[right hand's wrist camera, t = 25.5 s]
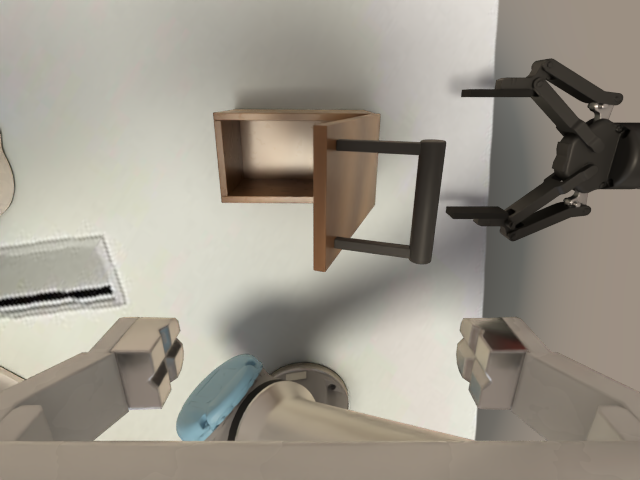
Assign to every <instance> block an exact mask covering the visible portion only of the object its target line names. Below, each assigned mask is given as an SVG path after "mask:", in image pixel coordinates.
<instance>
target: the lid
mask: <svg viewBox="0 0 640 480" xmlns="http://www.w3.org/2000/svg"><path fill="white" fill-rule="evenodd" d="M379 131H380V114H368V115H363V116H358V117H353V118H348V119H343V120H338V121H333V122H327V123H322V124H317V125H314V126H313V213H314V270H315V271H322V272H326V270H327V269H328V268H329V266H330V265H331V264H332V262H333V261H334V259H335V258H336V257H337V255H338V254H339V253H340V251H341V250H342V249H343V250H351V251H358V252H366V253H373V254H380V255H388V256H395V257H403V258H409V260H410V261H411V262H413V263H416V264H428V263H430V262H431V258H432V250H433V242H434V234H435V226H436V218H437V211H438V203H439V195H440V187H441V179H442V172H443V164H444V156H445V148H446V141H443V140H421V142H402V141H379ZM378 153H388V154H408V155H419V160H418V169H417V179H416V189H415V199H414V208H413V218H412V228H411V238H410V246H409V245H401V244H393V243H385V242H377V241H369V240H361V239H353V238H351V236H352V235H353V234H354V232H355V231H356V230H357V228H358V227H359V226H360V224H361V223H362V222H363V220H364V219H365V217H366V216H367V215H368V213H369V212H370V211H371V209H372V208H373V207H374V205H375V195H376V179H377V163H378Z"/></svg>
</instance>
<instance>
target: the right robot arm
mask: <svg viewBox="0 0 640 480" xmlns="http://www.w3.org/2000/svg"><path fill="white" fill-rule="evenodd" d="M13 194H14V180H13V175H12V171H11V168H10V166H9V163H8V161H7V159H6V157H5V155H4V153H3V150H2V147H1V136H0V215H1V214H3V213H4V212H5V211H6V209H7V208H8V207H9V205H10V203H11V201H12V198H13ZM179 332H180V327H179V322H178V320H177V319H176V318H158V317H141V318H140V317H123V318H119V319H118V320H117V322H116V323H115V324H114V325H113V326H112V327H111V328H110V329H109V330H108V331H107V332H106V333H105V335H104V336H103V337H102V338H101V339H100V340H99V341H98V342H97V343H96V344H95V345H94V347H93V348H92V349H91V350H90V351H89V352H84V353H80V354H78V355H76V356H74V357H72V358H70V359H68V360H66V361H64V362H61V363H59V364H57V365H55V366H53V367H51V368H49V369H47V370H45V371H43V372H41V373H39V374H37V375H35V376H32V377H30V378H28V379H26V380H24V381H22V382H20V383H18V384H16V385H14V386H12V387H10V388H8V389H5V390H3V391H1V392H0V480H640V392H638V391H636V390H634V389H632V388H630V387H628V386H626V385H624V384H622V383H620V382H618V381H616V380H614V379H612V378H609V377H607V376H605V375H603V374H601V373H599V372H597V371H595V370H593V369H591V368H589V367H587V366H585V365H582V364H581V363H578V362H576V361H574V360H572V359H570V358H568V357H566V356H564V355H562V354H560V353H557V352H554V353H553V352H551V351H550V350H549V349H548V348H547V347H546V345H545V344H544V343H543V342H542V341H541V340H540V339H539V338H538V337H537V336H536V335H535V334H534V332H533V331H532V330H531V329H530V328H529V327H528V326H527V325H526V324H525V323H524V321H523V320H522V319H520V318H518V317H499V318H463V320H462V322H461V326H460V332H461V334H462V336H463V337H464V338H463V339H462V340H461V341H460V342H459V343H458V344H457V351H456V357H457V365H458V369H459V372H460V374H461V376H462V378H464V379H465V380H467V381H468V382H470V384H469V391H470V393H471V395H472V397H473V399H474V401H475V403H476V405H477V407H478V409H503V410H511V411H512V412H513V413H514V414H515V415H516V416H517V417H519V418H520V419H521V420H522V421H524V422H525V423H526V424H527V425H529V426H530V427H531V428H532V429H533V430H534V431H536V432H537V433H538V434H539V435H541V436H542V437H543V438H544V439H545V440H547V441H93V440H95V439H96V438H97V437H98V436H100V435H101V434H102V433H103V432H104V431H106V430H107V429H108V428H109V427H111V426H112V425H113V424H114V423H115V422H117V421H118V420H119V419H120V418H121V417H123V416H124V415H125V414H126V413H128V412H129V410H137V409H162V407H163V405H164V403H165V401H166V399H167V397H168V395H169V393H170V391H171V384H170V382H172V381H173V380H175V379H176V378H178V376H179V374H180V371H181V369H182V364H183V360H184V350H183V344H182V343H181V342H180V341H179V340H178V339H177V338H176V337H177V336H178V334H179Z"/></svg>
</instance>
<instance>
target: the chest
mask: <svg viewBox="0 0 640 480" xmlns="http://www.w3.org/2000/svg"><path fill="white" fill-rule="evenodd" d="M368 114H375V113H372V112H369V111H365V110H261V109H233V110H228V111H221V112H214V113H213V117H214V127H215V137H216V148H217V158H218V168H219V179H220V189H221V200H222V203H313V126H314V125H317V124H322V123H327V122H333V121H338V120H343V119H348V118H353V117H358V116H363V115H368Z"/></svg>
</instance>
